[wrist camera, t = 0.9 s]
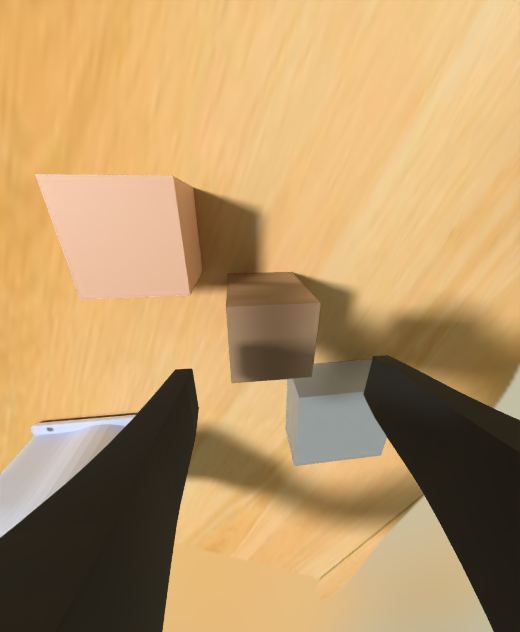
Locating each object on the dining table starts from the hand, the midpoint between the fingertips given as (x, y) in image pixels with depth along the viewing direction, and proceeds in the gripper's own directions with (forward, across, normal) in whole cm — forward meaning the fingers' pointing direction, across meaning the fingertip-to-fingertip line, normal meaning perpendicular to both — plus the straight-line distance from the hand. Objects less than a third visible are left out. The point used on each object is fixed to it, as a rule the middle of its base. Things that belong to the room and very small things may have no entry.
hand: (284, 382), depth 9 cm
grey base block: (+9, -6, +10) cm, 15 cm away
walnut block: (+9, 0, 0) cm, 9 cm away
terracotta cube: (+9, +6, -5) cm, 12 cm away
